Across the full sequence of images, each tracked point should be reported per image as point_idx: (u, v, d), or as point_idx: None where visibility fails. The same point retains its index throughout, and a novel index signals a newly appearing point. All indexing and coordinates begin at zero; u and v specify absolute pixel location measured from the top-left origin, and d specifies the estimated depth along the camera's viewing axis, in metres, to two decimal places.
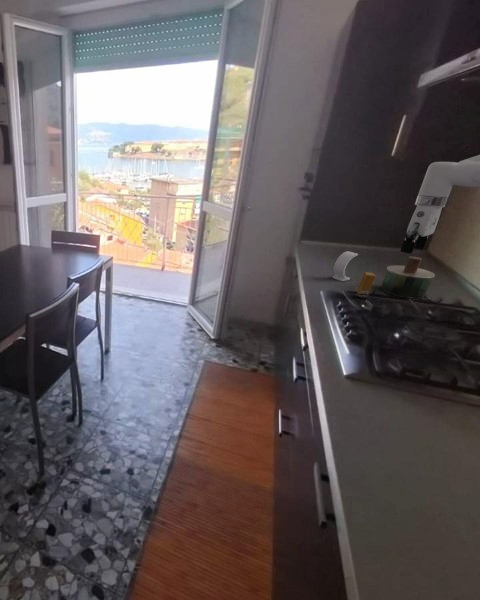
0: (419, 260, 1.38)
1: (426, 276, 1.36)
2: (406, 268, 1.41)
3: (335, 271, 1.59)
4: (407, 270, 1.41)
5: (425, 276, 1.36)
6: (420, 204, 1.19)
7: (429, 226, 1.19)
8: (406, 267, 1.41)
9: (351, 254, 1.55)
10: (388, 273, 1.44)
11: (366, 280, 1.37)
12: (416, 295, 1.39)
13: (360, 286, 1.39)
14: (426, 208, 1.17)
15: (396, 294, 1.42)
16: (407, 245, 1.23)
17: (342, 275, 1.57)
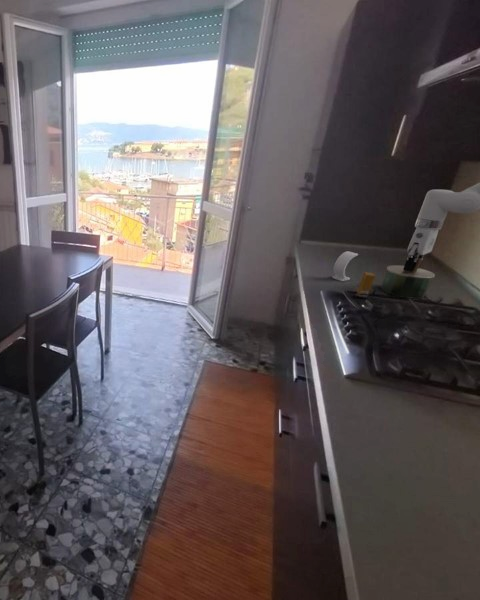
0: (419, 260, 1.38)
1: (426, 276, 1.36)
2: None
3: (335, 271, 1.59)
4: None
5: (425, 276, 1.36)
6: (419, 226, 1.34)
7: (427, 246, 1.34)
8: None
9: (351, 254, 1.55)
10: (388, 273, 1.44)
11: (366, 280, 1.37)
12: (416, 295, 1.39)
13: (360, 286, 1.39)
14: (424, 230, 1.32)
15: (396, 294, 1.42)
16: (409, 264, 1.39)
17: (342, 275, 1.57)
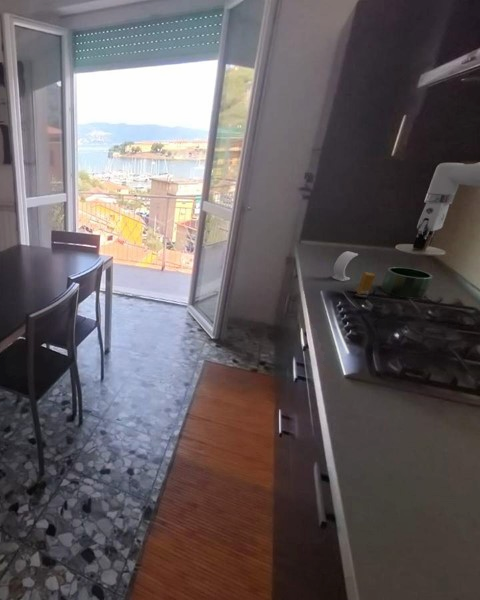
0: (429, 237, 1.34)
1: (437, 253, 1.32)
2: None
3: (335, 271, 1.59)
4: (417, 248, 1.37)
5: (436, 253, 1.32)
6: (429, 201, 1.30)
7: (438, 221, 1.30)
8: None
9: (351, 254, 1.55)
10: (388, 273, 1.44)
11: (366, 280, 1.37)
12: (416, 295, 1.39)
13: (360, 286, 1.39)
14: (435, 205, 1.28)
15: (396, 294, 1.42)
16: (419, 241, 1.35)
17: (342, 275, 1.57)
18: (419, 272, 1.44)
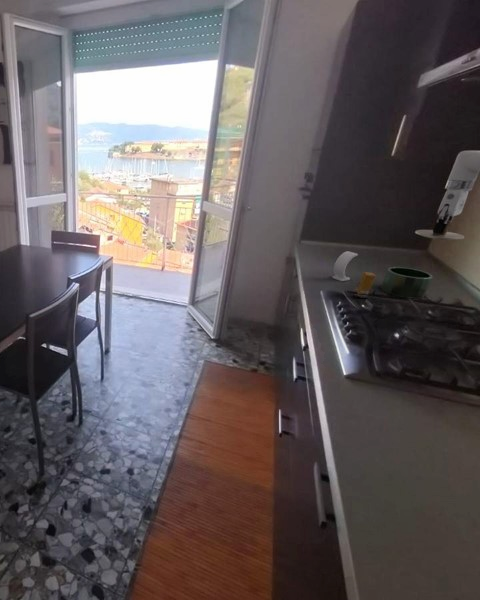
0: (449, 222, 1.40)
1: (456, 237, 1.39)
2: None
3: (335, 271, 1.59)
4: (436, 233, 1.44)
5: (455, 237, 1.39)
6: (450, 188, 1.36)
7: (458, 207, 1.36)
8: None
9: (351, 254, 1.55)
10: (388, 273, 1.44)
11: (366, 280, 1.37)
12: (416, 295, 1.39)
13: (360, 286, 1.39)
14: (456, 191, 1.35)
15: (396, 294, 1.42)
16: (439, 226, 1.42)
17: (342, 275, 1.57)
18: (419, 272, 1.44)
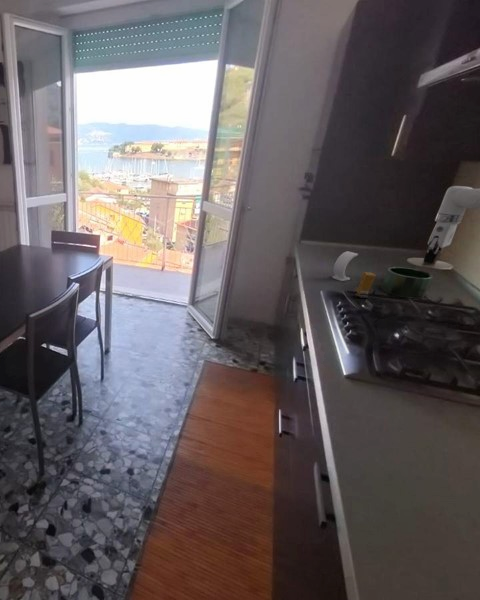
0: (438, 252, 1.47)
1: (445, 267, 1.46)
2: None
3: (335, 271, 1.59)
4: None
5: (444, 267, 1.46)
6: (439, 221, 1.43)
7: (447, 239, 1.43)
8: None
9: (351, 254, 1.55)
10: (388, 273, 1.44)
11: (366, 280, 1.37)
12: (416, 295, 1.39)
13: (360, 286, 1.39)
14: (445, 224, 1.41)
15: (396, 294, 1.42)
16: (429, 256, 1.48)
17: (342, 275, 1.57)
18: (419, 272, 1.44)
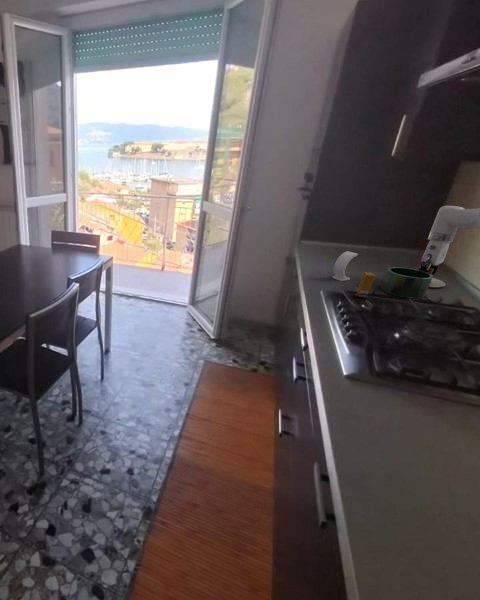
0: (431, 270, 1.51)
1: (438, 285, 1.49)
2: None
3: (335, 271, 1.59)
4: None
5: (437, 285, 1.49)
6: (432, 239, 1.46)
7: (440, 257, 1.46)
8: None
9: (351, 254, 1.55)
10: (388, 273, 1.44)
11: (366, 280, 1.37)
12: (416, 295, 1.39)
13: (360, 286, 1.39)
14: (437, 243, 1.44)
15: (396, 294, 1.42)
16: None
17: (342, 275, 1.57)
18: (419, 272, 1.44)
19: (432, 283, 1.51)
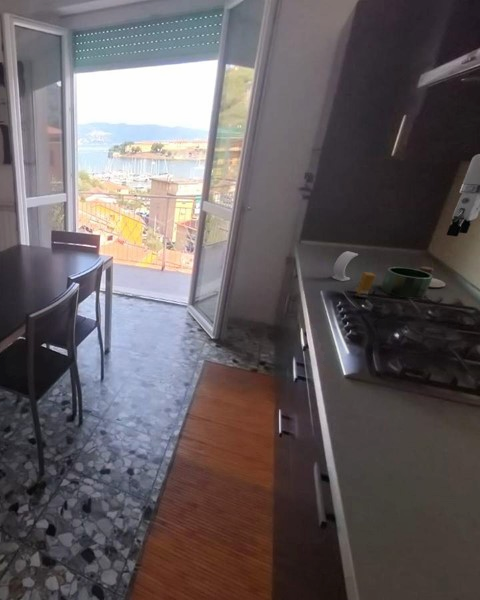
0: (431, 270, 1.51)
1: (438, 285, 1.49)
2: None
3: (335, 271, 1.59)
4: None
5: (437, 285, 1.49)
6: (465, 192, 1.34)
7: (473, 211, 1.33)
8: None
9: (351, 254, 1.55)
10: (388, 273, 1.44)
11: (366, 280, 1.37)
12: (416, 295, 1.39)
13: (360, 286, 1.39)
14: (471, 195, 1.32)
15: (396, 294, 1.42)
16: (453, 228, 1.37)
17: (342, 275, 1.57)
18: (419, 272, 1.44)
19: (432, 283, 1.51)
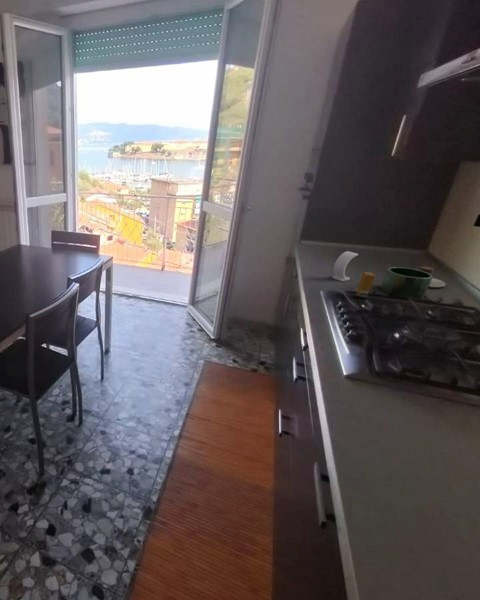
0: (431, 270, 1.51)
1: (438, 285, 1.49)
2: None
3: (335, 271, 1.59)
4: None
5: (437, 285, 1.49)
6: None
7: None
8: None
9: (351, 254, 1.55)
10: (388, 273, 1.44)
11: (365, 280, 1.37)
12: (416, 295, 1.39)
13: (360, 286, 1.39)
14: None
15: (396, 294, 1.42)
16: None
17: (342, 275, 1.57)
18: (419, 272, 1.44)
19: (432, 283, 1.51)
